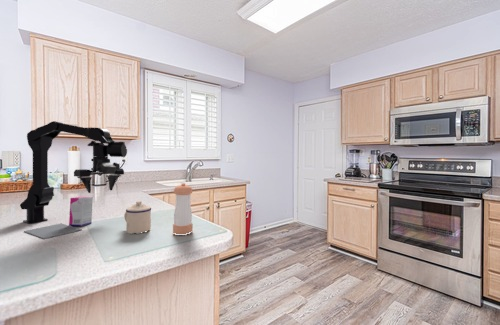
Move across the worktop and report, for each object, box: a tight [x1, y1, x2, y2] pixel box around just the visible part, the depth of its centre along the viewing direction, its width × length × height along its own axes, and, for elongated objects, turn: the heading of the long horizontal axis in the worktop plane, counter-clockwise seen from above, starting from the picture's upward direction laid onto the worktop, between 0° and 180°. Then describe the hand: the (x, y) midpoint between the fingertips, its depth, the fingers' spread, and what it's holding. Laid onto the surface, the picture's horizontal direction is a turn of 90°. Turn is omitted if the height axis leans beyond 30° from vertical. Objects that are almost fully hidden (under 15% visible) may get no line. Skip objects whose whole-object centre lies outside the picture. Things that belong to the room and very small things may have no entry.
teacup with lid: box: [123, 200, 152, 234], centre depth 94 cm, size 12×9×12 cm
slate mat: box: [23, 223, 83, 240], centre depth 91 cm, size 16×12×1 cm
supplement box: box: [68, 196, 94, 227], centre depth 100 cm, size 6×6×12 cm
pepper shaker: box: [172, 183, 193, 234], centre depth 91 cm, size 7×7×19 cm
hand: (100, 191), depth 106 cm, fingers open, 9 cm apart
